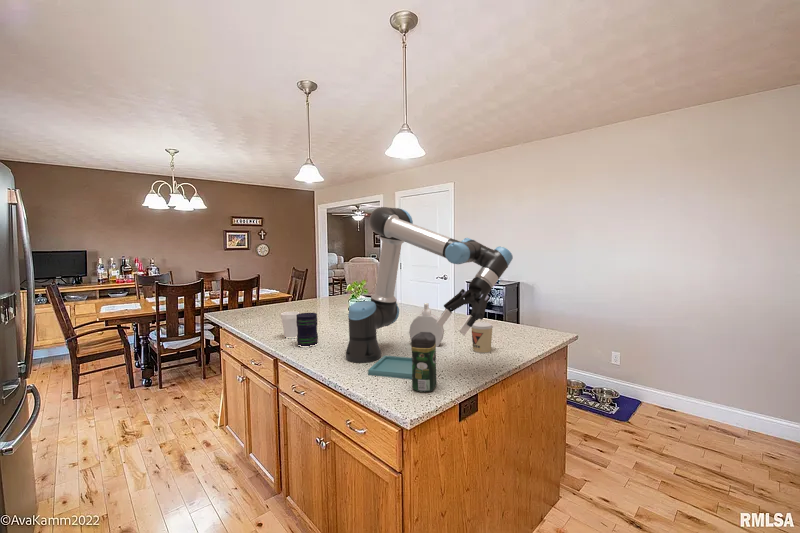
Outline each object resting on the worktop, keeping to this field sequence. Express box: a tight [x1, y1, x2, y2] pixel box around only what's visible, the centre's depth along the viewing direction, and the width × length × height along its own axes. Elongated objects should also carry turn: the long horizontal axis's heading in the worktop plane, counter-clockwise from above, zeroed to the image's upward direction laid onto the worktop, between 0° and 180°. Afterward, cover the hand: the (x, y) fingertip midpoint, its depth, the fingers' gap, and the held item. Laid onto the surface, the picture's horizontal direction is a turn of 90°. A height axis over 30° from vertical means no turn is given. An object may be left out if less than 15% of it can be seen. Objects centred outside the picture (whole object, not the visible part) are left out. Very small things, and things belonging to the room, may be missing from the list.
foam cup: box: [280, 310, 301, 338], centre depth 194 cm, size 10×9×13 cm
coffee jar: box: [410, 332, 437, 393], centre depth 126 cm, size 10×8×19 cm
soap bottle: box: [408, 302, 445, 348], centre depth 176 cm, size 16×5×20 cm, turn 75°
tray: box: [367, 355, 412, 380], centre depth 145 cm, size 18×18×2 cm
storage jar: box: [296, 312, 319, 346], centre depth 180 cm, size 10×10×15 cm
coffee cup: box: [471, 321, 494, 354], centre depth 166 cm, size 9×9×12 cm
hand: (449, 328), depth 130 cm, fingers open, 13 cm apart
